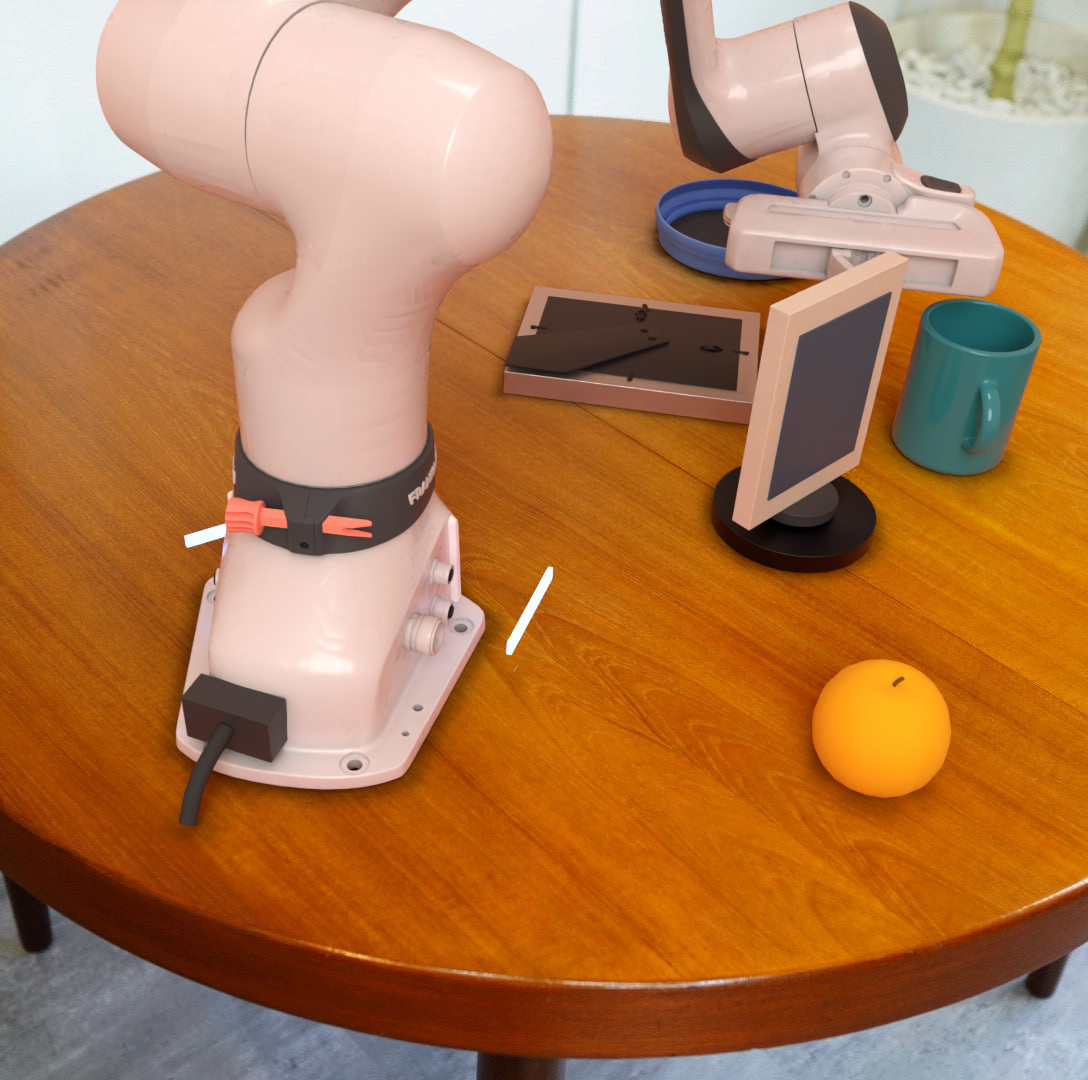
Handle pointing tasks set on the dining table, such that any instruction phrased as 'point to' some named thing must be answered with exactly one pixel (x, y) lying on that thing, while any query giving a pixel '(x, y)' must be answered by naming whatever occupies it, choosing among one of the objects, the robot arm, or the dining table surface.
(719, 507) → the swivel base
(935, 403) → the cup
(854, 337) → the photo frame
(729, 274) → the bowl
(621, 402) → the picture frame
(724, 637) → the dining table surface
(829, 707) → the orange
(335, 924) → the dining table surface
